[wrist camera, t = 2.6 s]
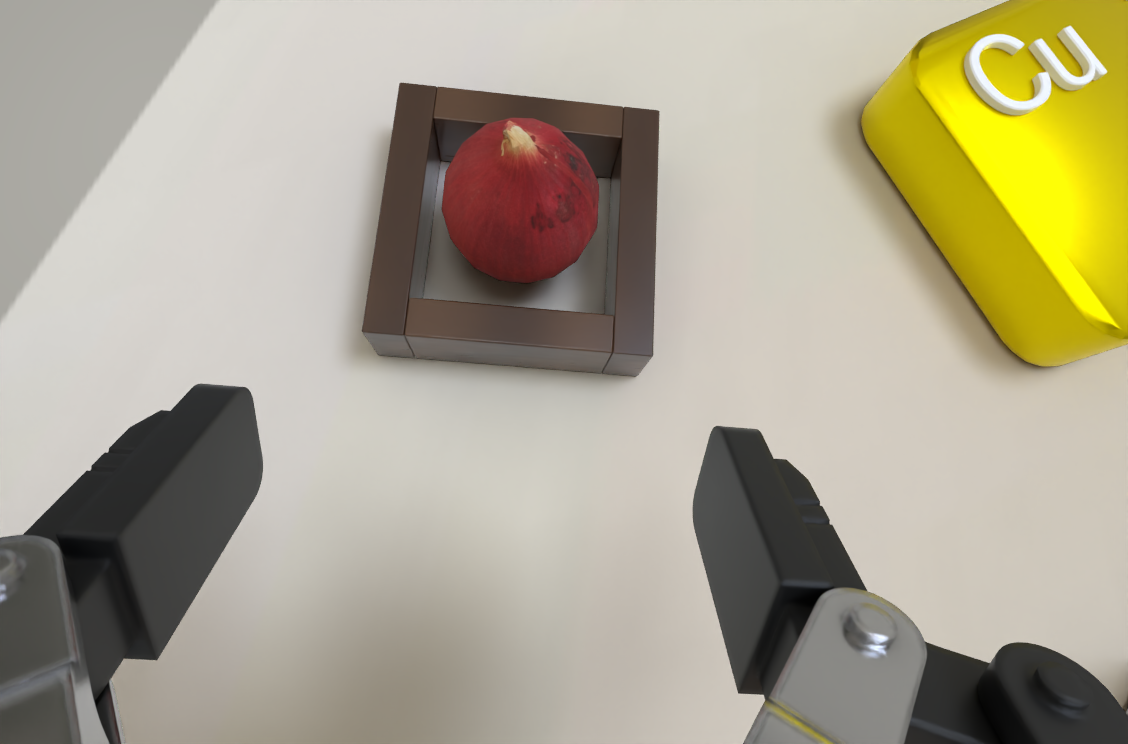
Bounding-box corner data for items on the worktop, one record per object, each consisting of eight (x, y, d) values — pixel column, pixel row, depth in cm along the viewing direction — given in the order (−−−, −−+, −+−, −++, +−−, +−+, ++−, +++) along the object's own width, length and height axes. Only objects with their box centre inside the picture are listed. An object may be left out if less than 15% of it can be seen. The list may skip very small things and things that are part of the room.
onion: (589, 193, 29) (619, 64, 21) (584, 315, 27) (615, 225, 19) (457, 182, 28) (438, 46, 20) (445, 305, 27) (419, 208, 19)
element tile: (1027, 385, 28) (1129, 354, 23) (840, 113, 31) (898, 36, 26) (1261, 251, 31) (1394, 199, 26) (1070, 13, 34) (1160, -71, 29)
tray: (377, 355, 26) (361, 331, 23) (410, 128, 29) (399, 81, 26) (637, 376, 27) (653, 356, 24) (644, 152, 29) (659, 110, 26)
